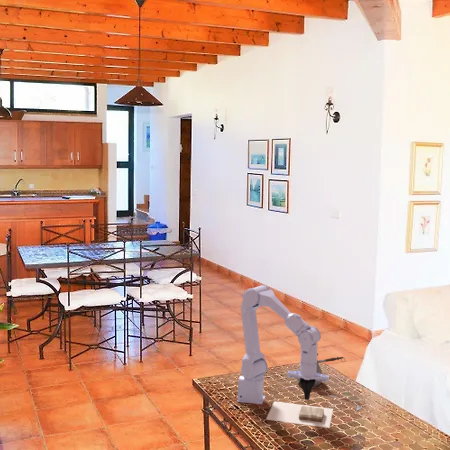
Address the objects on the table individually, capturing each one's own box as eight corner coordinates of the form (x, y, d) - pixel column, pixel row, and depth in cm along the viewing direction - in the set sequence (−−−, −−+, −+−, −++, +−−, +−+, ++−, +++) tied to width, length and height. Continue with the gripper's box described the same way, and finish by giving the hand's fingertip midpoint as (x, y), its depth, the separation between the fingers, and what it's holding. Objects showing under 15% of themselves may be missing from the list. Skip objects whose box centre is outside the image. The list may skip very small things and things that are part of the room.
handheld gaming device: (331, 394, 232) (363, 407, 221) (331, 395, 232) (363, 408, 221) (316, 399, 226) (348, 413, 215) (316, 401, 226) (348, 415, 215)
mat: (266, 420, 208) (266, 419, 208) (274, 402, 224) (274, 401, 224) (329, 429, 203) (329, 427, 203) (333, 410, 218) (333, 408, 218)
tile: (299, 413, 209) (321, 416, 207) (301, 405, 215) (323, 408, 213) (298, 419, 209) (321, 422, 207) (301, 411, 216) (323, 414, 214)
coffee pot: (289, 383, 243) (290, 348, 241) (305, 376, 251) (306, 341, 250) (334, 398, 229) (336, 361, 227) (350, 390, 237) (351, 353, 235)
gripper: (286, 363, 207) (285, 400, 209) (328, 368, 204) (326, 405, 205) (289, 356, 214) (288, 393, 216) (330, 361, 210) (328, 397, 212)
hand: (307, 398), depth 211 cm, fingers closed
